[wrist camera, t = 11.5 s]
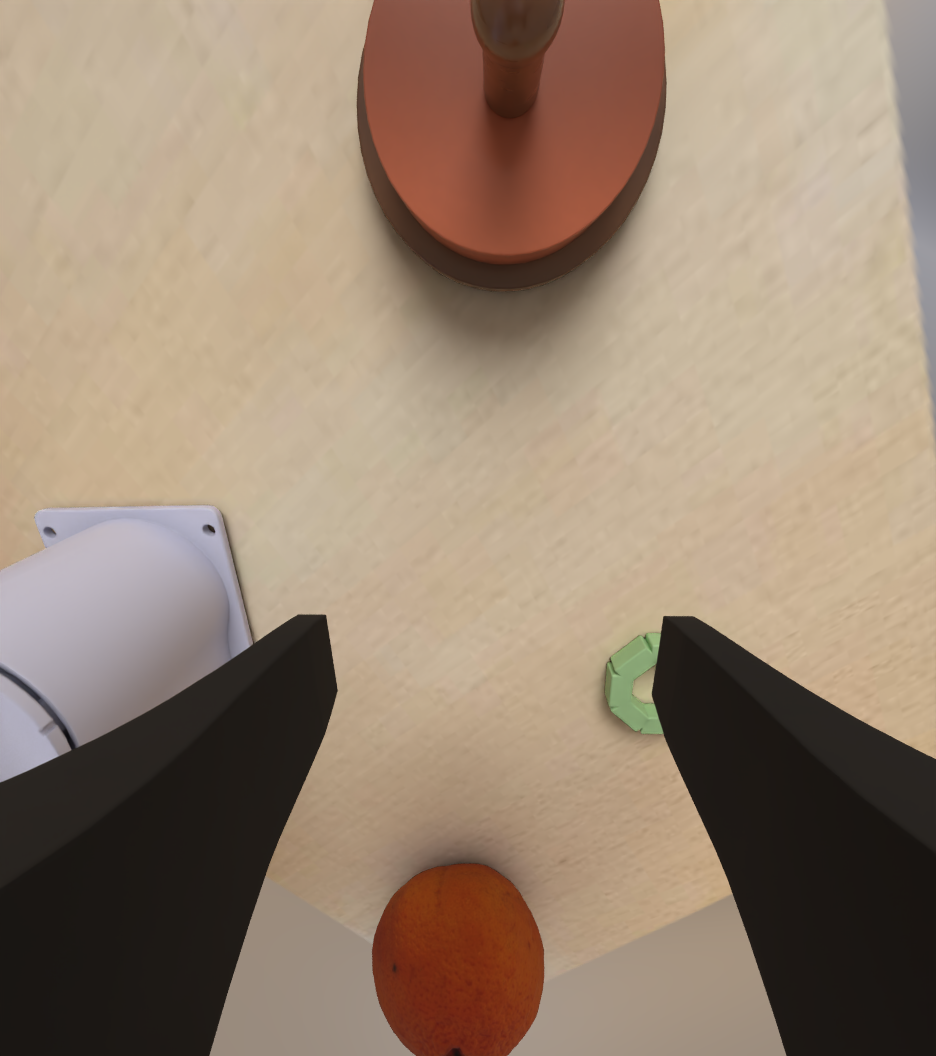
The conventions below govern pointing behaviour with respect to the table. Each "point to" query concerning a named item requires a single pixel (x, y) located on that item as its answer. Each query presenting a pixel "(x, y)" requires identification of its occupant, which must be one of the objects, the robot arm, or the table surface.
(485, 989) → the fruit
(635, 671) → the ring
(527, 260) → the stand
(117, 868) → the robot arm
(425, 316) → the table surface
